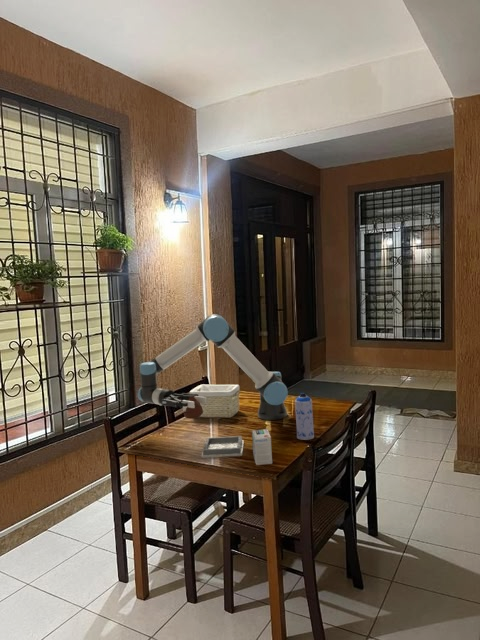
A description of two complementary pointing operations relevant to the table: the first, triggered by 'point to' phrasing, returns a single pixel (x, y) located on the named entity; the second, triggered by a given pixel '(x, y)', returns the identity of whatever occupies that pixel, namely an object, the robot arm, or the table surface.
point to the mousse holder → (223, 447)
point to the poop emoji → (193, 409)
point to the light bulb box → (262, 447)
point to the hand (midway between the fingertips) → (199, 402)
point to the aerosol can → (304, 417)
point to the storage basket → (218, 400)
